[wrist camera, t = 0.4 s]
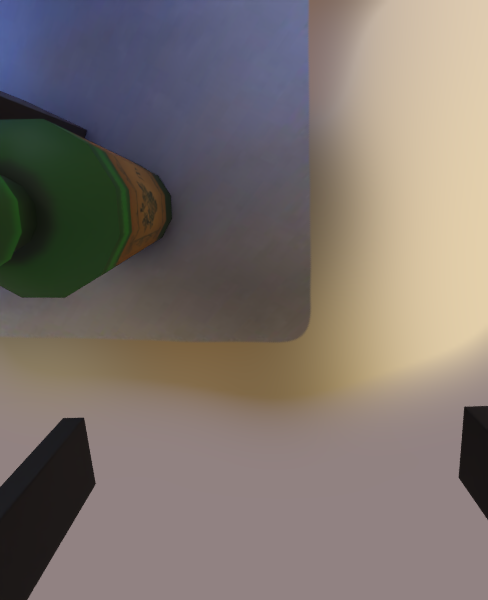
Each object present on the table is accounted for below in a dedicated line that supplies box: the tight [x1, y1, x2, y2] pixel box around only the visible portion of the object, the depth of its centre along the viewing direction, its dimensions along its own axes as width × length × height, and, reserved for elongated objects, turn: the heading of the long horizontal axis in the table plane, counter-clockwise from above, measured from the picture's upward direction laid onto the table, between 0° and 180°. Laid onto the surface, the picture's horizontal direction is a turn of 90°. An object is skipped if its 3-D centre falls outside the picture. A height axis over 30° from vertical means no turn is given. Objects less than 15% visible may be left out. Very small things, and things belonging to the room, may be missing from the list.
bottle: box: [0, 119, 172, 298], centre depth 29 cm, size 11×11×28 cm
